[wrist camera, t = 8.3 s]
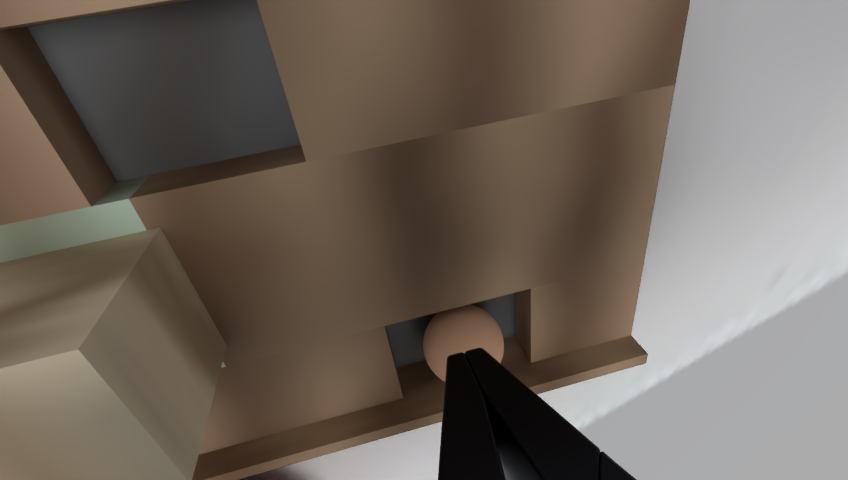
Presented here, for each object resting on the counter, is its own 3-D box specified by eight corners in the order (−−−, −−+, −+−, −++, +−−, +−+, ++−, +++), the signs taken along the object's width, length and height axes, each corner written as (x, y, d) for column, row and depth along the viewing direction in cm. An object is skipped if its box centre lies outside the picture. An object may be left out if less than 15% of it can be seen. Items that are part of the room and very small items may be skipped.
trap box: (658, -100, 13) (781, -133, 9) (605, 317, 22) (657, 376, 18) (-214, 36, 10) (-483, 58, 7) (138, 442, 19) (100, 538, 16)
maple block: (160, 227, 12) (77, 349, 8) (227, 345, 15) (191, 483, 11) (-23, 267, 12) (-212, 421, 8) (80, 383, 14) (-18, 543, 10)
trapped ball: (485, 279, 18) (516, 333, 16) (489, 335, 20) (517, 391, 17) (410, 298, 18) (427, 356, 15) (421, 353, 20) (438, 414, 17)
